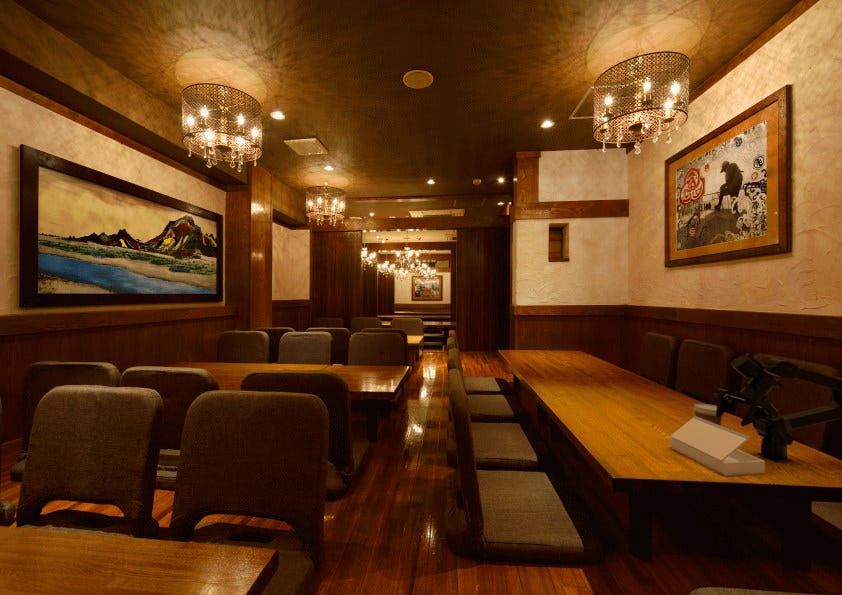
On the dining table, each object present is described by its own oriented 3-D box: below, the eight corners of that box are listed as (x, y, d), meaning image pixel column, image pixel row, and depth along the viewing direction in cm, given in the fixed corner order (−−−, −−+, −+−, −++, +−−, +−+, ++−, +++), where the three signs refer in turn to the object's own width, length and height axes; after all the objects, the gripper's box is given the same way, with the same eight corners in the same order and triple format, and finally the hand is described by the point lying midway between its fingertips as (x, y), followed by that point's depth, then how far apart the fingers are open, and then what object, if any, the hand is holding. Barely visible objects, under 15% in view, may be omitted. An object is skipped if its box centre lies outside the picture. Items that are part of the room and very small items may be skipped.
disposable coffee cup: (697, 439, 148) (698, 409, 148) (690, 431, 157) (690, 402, 157) (727, 443, 145) (728, 411, 145) (718, 434, 154) (718, 404, 154)
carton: (704, 446, 142) (704, 435, 142) (764, 473, 120) (765, 461, 120) (670, 447, 140) (670, 437, 140) (724, 476, 118) (724, 463, 118)
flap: (695, 417, 140) (694, 415, 140) (750, 438, 120) (749, 436, 120) (671, 437, 139) (670, 435, 139) (722, 461, 119) (721, 460, 119)
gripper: (802, 411, 123) (771, 447, 122) (746, 396, 142) (719, 427, 141) (780, 388, 122) (749, 424, 121) (727, 375, 141) (700, 406, 140)
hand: (729, 421), depth 131 cm, fingers open, 9 cm apart
